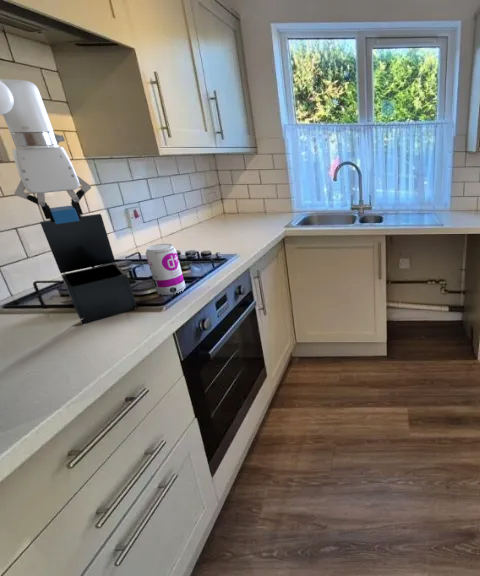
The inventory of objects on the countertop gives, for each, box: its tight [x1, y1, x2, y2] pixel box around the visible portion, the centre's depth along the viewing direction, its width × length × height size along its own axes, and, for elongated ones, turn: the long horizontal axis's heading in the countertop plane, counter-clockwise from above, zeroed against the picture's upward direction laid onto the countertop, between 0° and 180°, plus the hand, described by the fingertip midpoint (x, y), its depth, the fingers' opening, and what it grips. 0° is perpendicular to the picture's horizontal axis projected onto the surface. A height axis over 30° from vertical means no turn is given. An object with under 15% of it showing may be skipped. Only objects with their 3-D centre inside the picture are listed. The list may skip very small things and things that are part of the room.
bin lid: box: [39, 213, 116, 274], centre depth 104 cm, size 15×13×5 cm
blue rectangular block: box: [50, 205, 79, 224], centre depth 90 cm, size 7×4×3 cm, turn 44°
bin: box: [61, 262, 139, 326], centre depth 104 cm, size 15×13×11 cm
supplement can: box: [145, 243, 186, 296], centre depth 114 cm, size 8×8×15 cm
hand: (65, 219), depth 90 cm, fingers closed on blue rectangular block, 4 cm apart
